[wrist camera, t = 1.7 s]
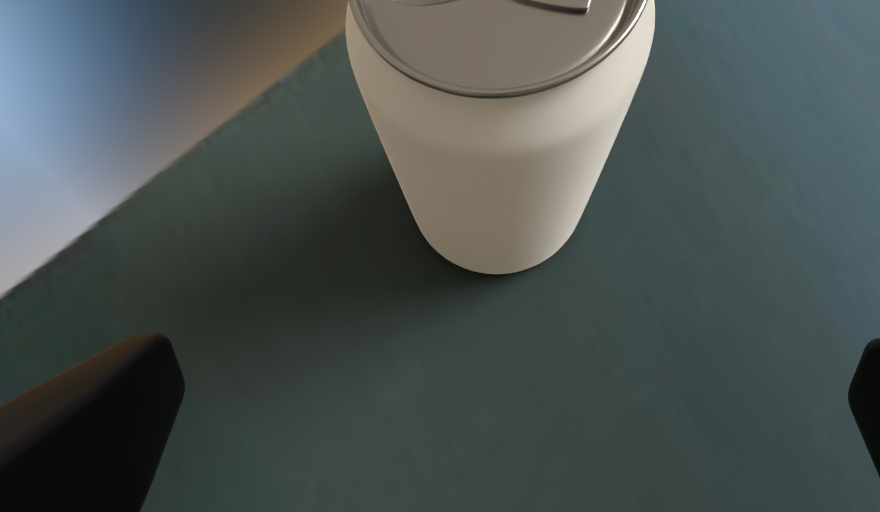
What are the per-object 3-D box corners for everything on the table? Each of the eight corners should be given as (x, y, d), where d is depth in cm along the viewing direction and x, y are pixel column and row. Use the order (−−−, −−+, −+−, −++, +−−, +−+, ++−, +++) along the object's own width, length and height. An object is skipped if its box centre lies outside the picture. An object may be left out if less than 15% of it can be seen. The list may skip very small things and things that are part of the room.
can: (430, 108, 23) (366, -191, 12) (593, 130, 22) (698, -170, 11) (396, 261, 22) (281, 91, 10) (569, 292, 21) (660, 143, 9)
